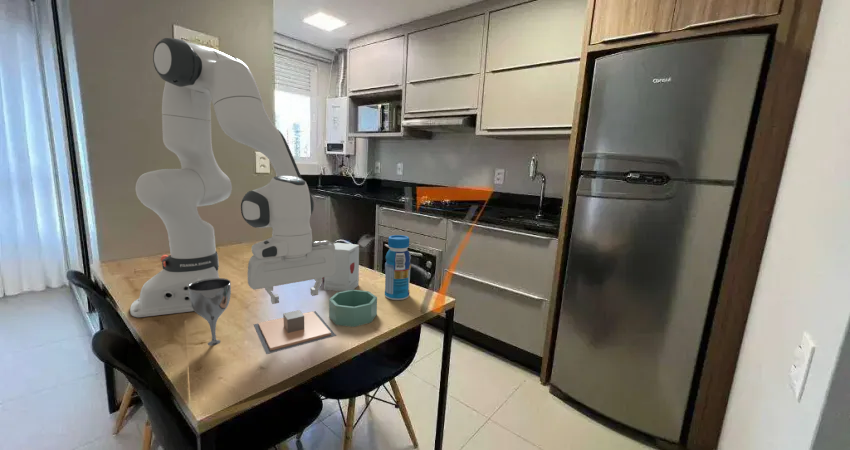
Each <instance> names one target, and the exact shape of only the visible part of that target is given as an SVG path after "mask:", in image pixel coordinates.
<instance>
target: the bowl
mask: <svg viewBox="0 0 850 450" xmlns="http://www.w3.org/2000/svg"><path fill="white" fill-rule="evenodd" d="M328 310H329V311H328V313H329V314H328V315H329V317H328V318H329V319H330V320H331V321H332V322H333V324H335V326H345V327H351V328H352V327H353V328H355V327H358V326H363V325H367V324H370V323H372V322H373V320H374V319H375V317H376V316H377V315H378V314H377V313H378V297H377V296H376V295H375V294H374V293H372V292H371V291H368V290H360V289H358V290H357V289H354V290H348V291H343V292H342V291H337V292H336V293H335V294H334V295H332V296H331V297H330V298H329V299H328Z"/></svg>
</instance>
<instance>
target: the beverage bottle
mask: <svg viewBox="0 0 850 450" xmlns="http://www.w3.org/2000/svg"><path fill="white" fill-rule="evenodd" d="M387 242H388V243H387V245H388V246H387V247H388V248H389V249H388V251H387V252H386V253H385V254H386V255H385V261H386V262H385V263H384V269H385V270H384V271H385V272H384V273H385V276H384V279H385V280H384V284H385V285H384V296H385V298H387V299H389V300H393V301H403V300H406V299H408V298H409V297H410V280H411V268H412V263H411V259H412V256H411V253H410V251H409V249H408V248H410V237H409V236H407V235H401V234H393V235H390V236H388V241H387Z"/></svg>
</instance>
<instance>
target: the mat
mask: <svg viewBox="0 0 850 450" xmlns="http://www.w3.org/2000/svg"><path fill="white" fill-rule="evenodd" d="M313 312H314V313H315V314H316V315H317V316H318V318H319V319H320V320H321V321H322V322H323V324H324V325H325V326H326V327H327V328H328V329H329V331H330V332H331V335H328V336H324V337H320V338H317V339H313V340H309V341H305V342H301V343H298V344H294V345H290V346H286V347H282V348H278V349H275V350H271V351H270V349H269V347H268V345H267V342H266V340H265V338H264V336H263V334H262V332H261V330H260V327H259V325H258V323H254V324H253V327H254V329H255V331H256V333H257V336H258V338H259V341H260V342H261V345H262V348H263V350H264V352H265V354H266V355H268V354H273V353H277V352H279V351H280V352H281V351H283V350H287V349H291V348H295V347H298V346H303V345H306V344H307V345H308V344H310V343H313V342H317V341H318V342H319V341H322V340H325V339H329V338H332V337H336V336H337V334H336V333H335V332H334V331H333V330H332V328H331V327H330V326H329V325H328V324H327V322H325V320H324V319H323V318H322V317H321V315H320V314H318V312H317V311H316V310H315V311H313Z"/></svg>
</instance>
